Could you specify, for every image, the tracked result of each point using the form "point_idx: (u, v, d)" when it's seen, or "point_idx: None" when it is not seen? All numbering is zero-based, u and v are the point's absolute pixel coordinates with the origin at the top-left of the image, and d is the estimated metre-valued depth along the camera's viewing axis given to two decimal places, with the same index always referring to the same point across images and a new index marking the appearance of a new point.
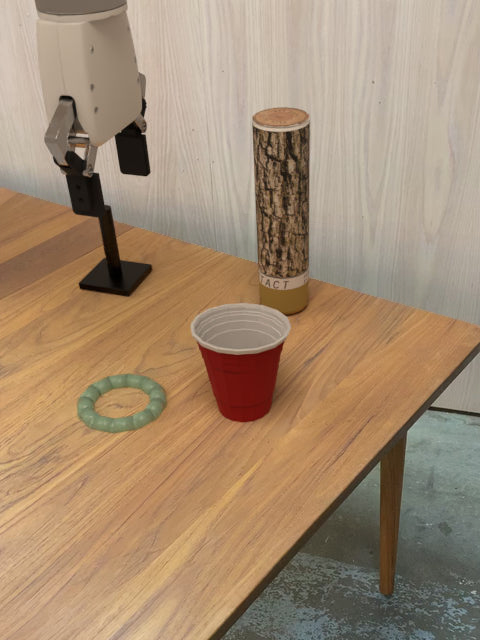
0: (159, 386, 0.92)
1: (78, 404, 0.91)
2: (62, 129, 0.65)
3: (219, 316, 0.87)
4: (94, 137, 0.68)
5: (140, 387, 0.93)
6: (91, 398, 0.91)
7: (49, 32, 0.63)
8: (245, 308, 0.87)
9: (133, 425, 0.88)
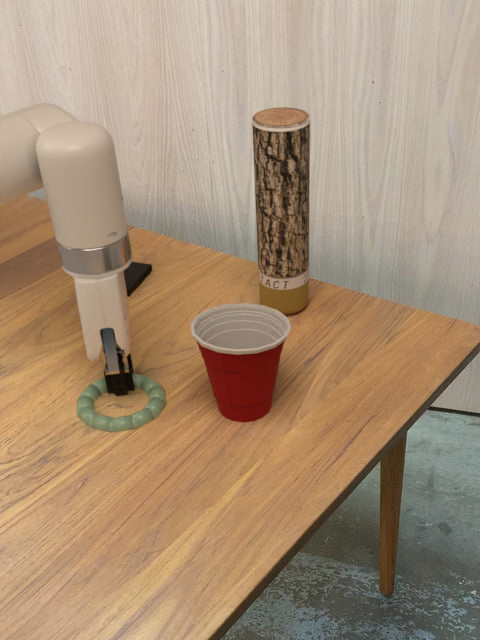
0: (159, 385, 0.92)
1: (78, 403, 0.91)
2: (117, 361, 0.86)
3: (219, 316, 0.87)
4: (127, 350, 0.86)
5: (140, 386, 0.93)
6: (91, 397, 0.91)
7: (91, 288, 0.81)
8: (245, 308, 0.87)
9: (132, 425, 0.88)
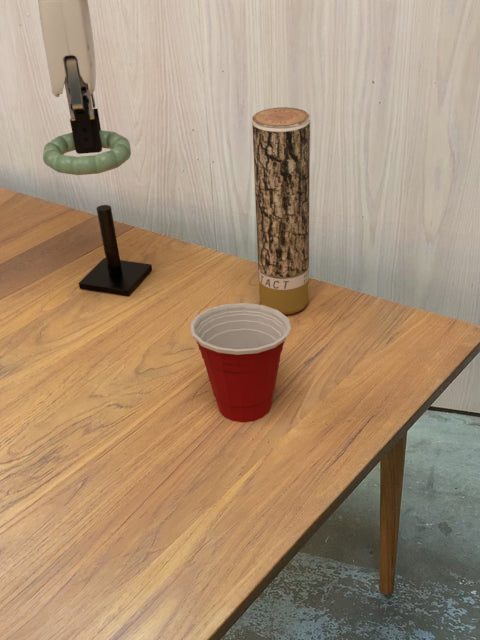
0: (124, 137, 0.95)
1: (44, 149, 0.93)
2: (81, 95, 0.89)
3: (219, 316, 0.87)
4: (91, 86, 0.89)
5: (106, 140, 0.96)
6: (57, 146, 0.94)
7: (54, 7, 0.83)
8: (245, 308, 0.87)
9: (95, 163, 0.90)
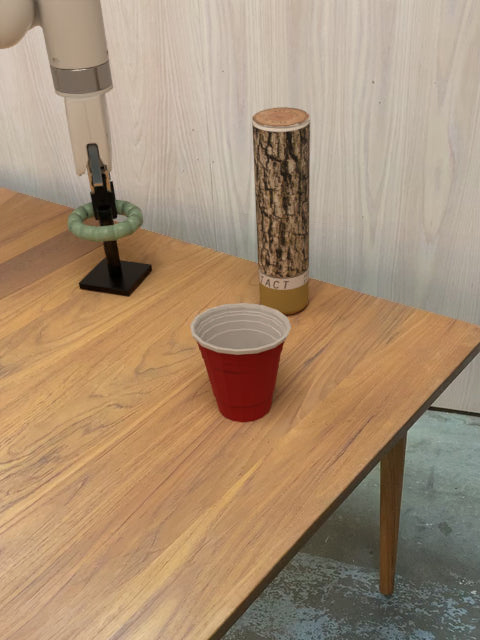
0: (137, 207, 1.10)
1: (68, 218, 1.08)
2: (101, 174, 1.03)
3: (219, 316, 0.87)
4: (109, 167, 1.04)
5: (121, 209, 1.11)
6: (79, 215, 1.09)
7: (79, 105, 0.98)
8: (245, 308, 0.87)
9: (114, 232, 1.05)
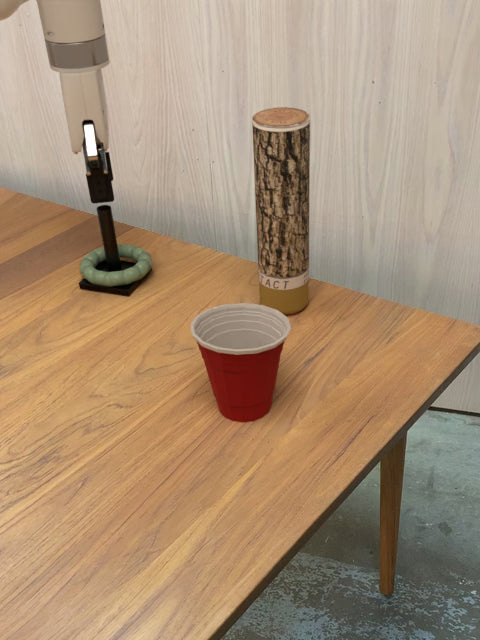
0: (146, 252, 1.15)
1: (81, 263, 1.14)
2: (96, 148, 1.00)
3: (219, 316, 0.87)
4: (106, 144, 1.02)
5: (131, 253, 1.16)
6: (91, 260, 1.14)
7: (74, 80, 0.96)
8: (245, 308, 0.87)
9: (124, 277, 1.10)
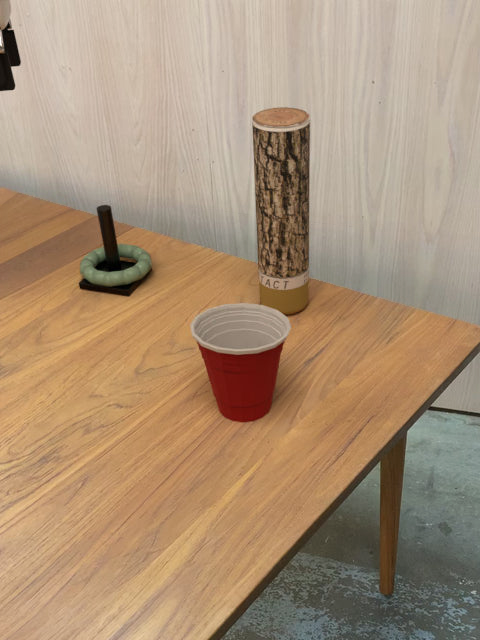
0: (146, 252, 1.15)
1: (81, 263, 1.14)
2: None
3: (219, 316, 0.87)
4: (2, 20, 0.87)
5: (131, 253, 1.16)
6: (91, 260, 1.14)
7: None
8: (245, 308, 0.87)
9: (124, 277, 1.10)
